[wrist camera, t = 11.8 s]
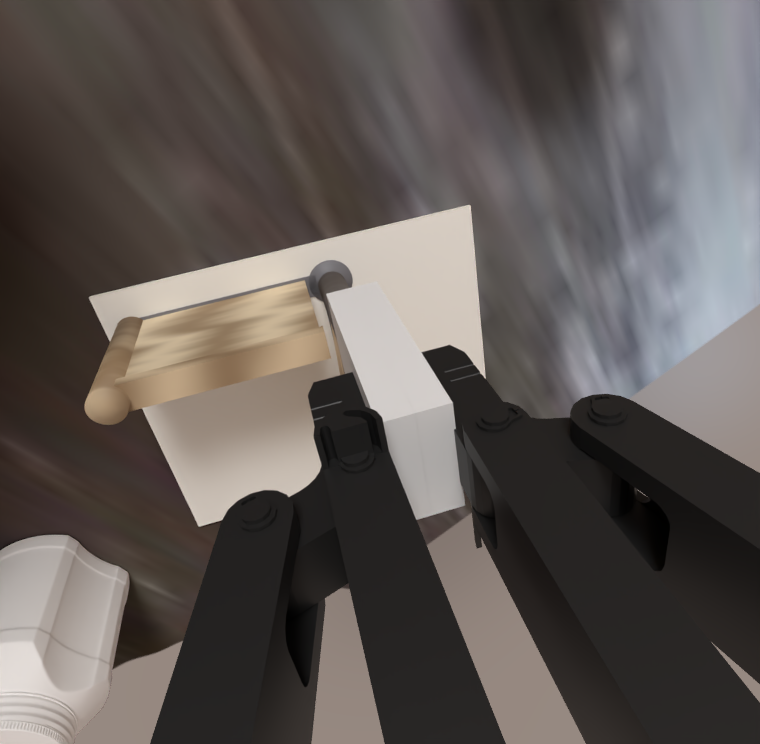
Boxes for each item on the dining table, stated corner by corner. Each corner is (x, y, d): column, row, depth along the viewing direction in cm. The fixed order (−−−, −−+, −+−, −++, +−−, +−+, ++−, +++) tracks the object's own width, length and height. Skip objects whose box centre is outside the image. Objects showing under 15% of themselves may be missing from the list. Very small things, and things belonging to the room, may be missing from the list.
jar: (150, 584, 52) (123, 758, 39) (71, 639, 53) (21, 825, 40) (43, 517, 46) (-30, 697, 33) (-44, 580, 47) (-145, 778, 34)
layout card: (199, 524, 50) (198, 527, 49) (89, 296, 38) (88, 298, 38) (489, 440, 53) (491, 443, 52) (469, 204, 41) (471, 206, 41)
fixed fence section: (123, 348, 40) (94, 429, 32) (110, 321, 39) (77, 397, 31) (312, 301, 42) (333, 365, 33) (305, 273, 40) (325, 332, 32)
